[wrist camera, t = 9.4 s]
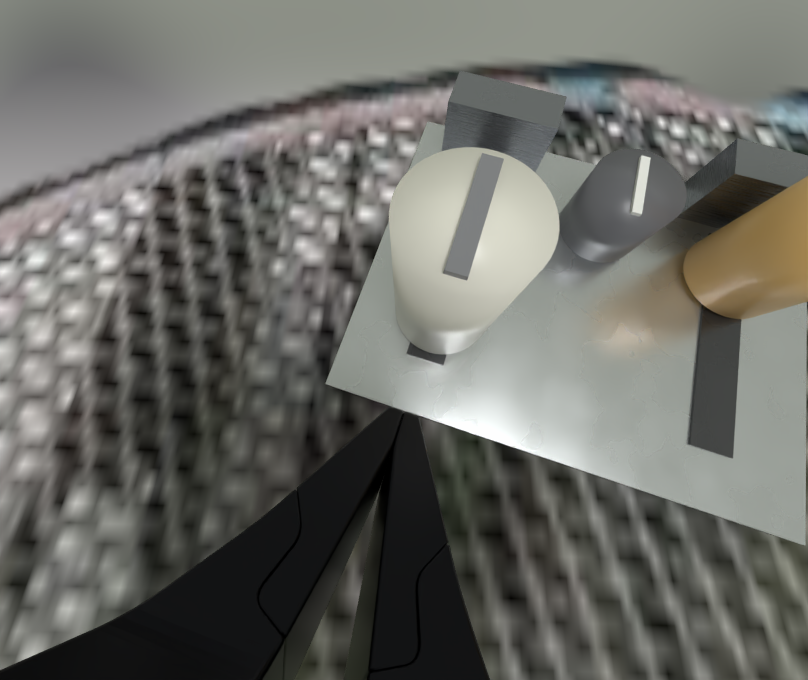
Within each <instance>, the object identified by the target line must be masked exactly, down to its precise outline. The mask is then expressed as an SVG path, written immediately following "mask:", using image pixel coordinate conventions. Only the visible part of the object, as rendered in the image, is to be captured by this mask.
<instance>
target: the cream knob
mask: <svg viewBox="0 0 808 680" xmlns="http://www.w3.org/2000/svg"><path fill="white" fill-rule="evenodd" d="M389 228H390V242H391V255H392V268H393V282H394V295H395V308H396V317H397V321H398V325H399V327H400V329H401V331H402V332H403V334H404V335H405V337H406V338H407V339H408V340H409V341H410V342H411V343H412V344H414V345H415V346H416V347H418V348H420V349H422V350H424V351H426V352H429V353H433V354H453V353H457V352H460V351H462V350H465V349H466V348H468V347H470V346H471V345H472V344H473V343H475V342H476V340H477V339H478V338H479V337H480V336H481V335H482V334H483V333H484V332H485V331H486V330H487V329H488V328H489V326H490V325H491V324H492V323H493V322H494V321H495V320H496V319H497V318H498V317H499V316H500V315H501V314H502V312H503V311H504V310H505V309H506V308H507V307H508V306H509V305H510V304H511V303H512V302H513V301H514V299H515V298H516V297H517V296H518V295H519V294H520V293H521V292H522V291H523V290H524V289H525V288H526V287H527V285H528V284H529V283H530V282H531V281H532V280H533V279H534V278H535V277H536V276H537V275H538V274H539V272H540V271H541V270H542V269H543V268H544V267H545V266H546V264H547V263H548V261H549V260H550V259H551V257H552V255H553V253H554V251H555V248H556V245H557V242H558V237H559V215H558V210H557V206H556V203H555V200H554V198H553V196H552V194H551V192H550V190H549V189H548V187H547V186H546V184H545V183H544V182H543V181H542V179H541V178H540V177H539V176H538V175H537V174H536V173H535V172H534V171H533V170H532V169H530V168H529V167H528V166H526V165H525V164H524V163H522V162H520V161H519V160H517V159H515V158H513V157H511V156H509V155H507V154H504V153H501V152H498V151H495V150H490V149H485V148H476V147H462V148H454V149H449V150H445V151H441V152H439V153H436V154H433V155H431V156H429V157H427V158H425V159H423V160H422V161H420V162H419V163H417V164H416V165H415V166H414V167H412V168H411V169H410V170H409V171H408V172H407V173H406V174H405V175H404V177H403V178H402V179H401V181H400V182H399V184H398V185H397V187H396V189H395V191H394V193H393V196H392V200H391V203H390V209H389Z"/></svg>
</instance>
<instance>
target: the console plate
mask: <svg viewBox="0 0 808 680" xmlns="http://www.w3.org/2000/svg"><path fill="white" fill-rule="evenodd" d="M565 101H566V96H562V95H558V94H553V93H549V92H545V91H541V90H537V89H533V88H529V87H525V86H521V85H517V84H513V83H508V82H504V81H500V80H496V79H492V78H488V77H484V76H480V75H476V74H472V73H468V72H463V71H460V72H459V75H458V77H457V80H456V83H455V85H454V88H453V91H452V93H451V96H450V99H449V102H448V109H447V116H446V123H445V126H444V125H440V124H436V123H432V122H427V125H426V127H425V130H424V132H423V135H422V137H421V140H420V143H419V145H418V148H417V150H416V153H415V155H414V158H413V160H412V163H411V166H410V168H409V170H410V169H411V168H412V167H414V166H415V165H416V164H417V163H419V162H420V161H422V160H423V159H425V158H427V157H429V156H431V155H433V154H436V153H439V152H441V151H445V150H449V149H454V148H462V147H476V148H485V149H490V150H495V151H498V152H501V153H504V154H507V155H509V156H511V157H513V158H515V159H517V160H519V161H520V162H522V163H524V164H525V165H526V166H528V167H529V168H530V169H532V170H533V171H534V172H535V173H536V174H537V175H538V176H539V177H540V178H541V179H542V181H543V182H544V183H545V184H546V186H547V187H548V189H549V190H550V192H551V194H552V196H553V198H554V200H555V203H556V206H557V210H558V215H559V217H560V214H561V212H562V210H563V209H564V207H565V206H566V205H567V203H568V202H569V201H570V199H571V198H572V197H573V195H574V194H575V193H576V191H577V190H578V189H579V188H580V186H581V185H582V184H583V182H584V181H585V180H586V178H587V177H588V176H589V174H590V173H591V172H592V170H593V169H594V168H595V166H596V165H594V164H590V163H586V162H582V161H578V160H575V159H571V158H567V157H563V156H559V155H555V154H551V153H548V152H546V151H547V149H548V147H549V145H550V143H551V142H552V140H553V138H554V136H555V134H556V132H557V130H558V128H559V124H560V120H561V116H562V112H563V108H564V105H565ZM807 176H808V156H807V155H803V154H799V153H795V152H791V151H787V150H783V149H779V148H775V147H770V146H766V145H762V144H758V143H754V142H750V141H746V140H742V139H736V140H735V141H734V142H733V143H732V144H730V145H729V146H728V147H727V148H726V149H724V150H723V151H722V152H721V153H720V154H719V155H717V156H716V157H715V158H714V159H713V160H711V161H710V162H709V163H708V164H707V165H705V166H704V167H703V168H702V169H701V170H700V171H698V172H697V173H696V174H695V175H694V176H692V177H691V178H690V179H689V180H688V181H686V182H685V187H686V193H687V198H686V204H685V206H684V209H683V210H682V212H681V213H680V214H679V216H678V217H677V218H675V219H674V220H673V221H671V222H670V223H669V224H667V225H666V226H665V227H663V228H662V229H661V230H659V231H658V232H657V233H655V234H654V235H653V236H651V237H650V238H648V239H647V240H646V241H644V242H643V243H642V244H640V245H639V246H638V247H636V248H635V249H634V250H632V251H631V252H629V253H628V254H627V255H625V256H624V257H622V258H621V259H618V260H616V261H612V262H606V263H601V262H594V261H590V260H587V259H584V258H582V257H580V256H579V255H577V254H576V253H574V252H573V251H572V250H571V249H570V248H569V247H568V246H567V245H566V244H565V242H564V240H563V239H562V237H561V234H560V231H559V237H558V242H557V245H556V248H555V251H554V253H553V255H552V257H551V259H550V260H549V261H548V263H547V264H546V266H545V267H544V268H543V269H542V270H541V271H540V272H539V274H538V275H537V276H536V277H535V278H534V279H533V280H532V281H531V282H530V283H529V284H528V285H527V287H526V288H525V289H524V290H523V291H522V292H521V293H520V294H519V295H518V296H517V297H516V298H515V299H514V301H513V302H512V303H511V304H510V305H509V306H508V307H507V308H506V309H505V310H504V311H503V312H502V314H501V315H500V316H499V317H498V318H497V319H496V320H495V321H494V322H493V323H492V324H491V325H490V326H489V328H488V329H487V330H486V331H485V332H484V333H483V334H482V335H481V336H480V337H479V338H478V339H477V340H476V342H475V343H473V344H472V345H471V346H470V347H468V348H466V349H465V350H462V351H460V352H457V353H453V354H433V353H429V352H426V351H424V350H422V349H420V348H418V347H416V346H415V345H414V344H412V343H411V342H410V341H409V340H408V339H407V338H406V337H405V335H404V334H403V332H402V331H401V329H400V327H399V325H398V321H397V317H396V308H395V295H394V282H393V268H392V255H391V242H390V228H389V222H388V225H387V227H386V230H385V232H384V235H383V237H382V240H381V243H380V245H379V248H378V250H377V253H376V255H375V258H374V260H373V263H372V266H371V268H370V271H369V273H368V276H367V278H366V281H365V284H364V286H363V289H362V291H361V294H360V296H359V299H358V301H357V304H356V307H355V309H354V312H353V314H352V317H351V319H350V322H349V325H348V327H347V330H346V332H345V335H344V337H343V340H342V343H341V345H340V348H339V350H338V353H337V355H336V358H335V360H334V363H333V366H332V368H331V371H330V373H329V376H328V378H327V381H326V384H327V385H329V386H331V387H334V388H337V389H340V390H343V391H346V392H349V393H352V394H355V395H358V396H361V397H364V398H367V399H370V400H373V401H376V402H379V403H382V404H385V405H388V406H391V407H393V408H396V409H400V410H402V411H405V412H409V413H412V414H415V415H417V416H420V417H423V418H426V419H429V420H432V421H435V422H438V423H441V424H444V425H447V426H450V427H453V428H456V429H459V430H462V431H465V432H468V433H471V434H474V435H477V436H480V437H483V438H485V439H488V440H491V441H494V442H497V443H500V444H503V445H506V446H509V447H512V448H515V449H518V450H521V451H524V452H527V453H530V454H533V455H536V456H539V457H542V458H545V459H548V460H551V461H554V462H557V463H560V464H563V465H566V466H569V467H572V468H575V469H578V470H580V471H583V472H586V473H589V474H592V475H595V476H598V477H601V478H604V479H607V480H610V481H613V482H616V483H619V484H622V485H625V486H628V487H631V488H634V489H637V490H640V491H643V492H646V493H649V494H652V495H655V496H658V497H661V498H664V499H667V500H670V501H673V502H675V503H678V504H681V505H684V506H687V507H690V508H693V509H696V510H699V511H702V512H705V513H708V514H711V515H714V516H717V517H720V518H723V519H726V520H729V521H732V522H735V523H738V524H741V525H744V526H747V527H750V528H753V529H756V530H759V531H762V532H765V533H767V534H770V535H774V536H777V537H780V538H783V539H786V540H789V541H793V542H796V543H799V544H802V545H805V519H806V331H807V302H804V303H801V304H797V305H794V306H791V307H787V308H784V309H780V310H777V311H773V312H770V313H766V314H763V315H760V316H756V317H753V318H748V319H734V318H729V317H725V316H722V315H719V314H717V313H715V312H713V311H711V310H710V309H708V308H707V307H705V306H704V305H703V304H702V303H701V302H699V301H698V300H697V298H696V297H695V296H694V295H693V294H692V292H691V291H690V289H689V287H688V285H687V283H686V280H685V277H684V271H683V264H684V259H685V256H686V254H687V252H688V250H689V249H690V248H691V247H692V246H693V245H694V244H695V243H697V242H699V241H700V240H702V239H704V238H705V237H707V236H709V235H710V234H712V233H714V232H715V231H717V230H719V229H720V228H722V227H724V226H725V225H727V224H729V223H730V222H732V221H734V220H735V219H737V218H739V217H740V216H742V215H744V214H745V213H747V212H749V211H750V210H752V209H754V208H755V207H757V206H759V205H760V204H762V203H763V202H765V201H767V200H768V199H770V198H772V197H773V196H775V195H777V194H778V193H780V192H782V191H783V190H785V189H787V188H788V187H790V186H792V185H793V184H795V183H797V182H798V181H800V180H802V179H803V178H805V177H807Z"/></svg>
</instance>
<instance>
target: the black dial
mask: <svg viewBox="0 0 808 680" xmlns="http://www.w3.org/2000/svg"><path fill="white" fill-rule="evenodd" d="M686 198H687V193H686V187H685V183H684V181H683V179H682V177H681V175H680V174H679V172H678V171H677V170H676V169H675V168H674V167H673V166H672V165H671V164H670V163H669V162H668V161H666V160H665V159H663V158H662V157H660V156H658V155H656V154H654V153H651V152H648V151H645V150H640V149H622V150H617V151H614V152H612V153H610V154H608V155H606V156H605V157H603V158H602V159H601V160H600V161H599V163H598V164H597V165H596V166H595V168H594V169H593V170H592V172H591V173H590V174H589V176H588V177H587V178H586V180H585V181H584V182H583V184H582V185H581V186H580V188H579V189H578V190H577V191H576V193H575V194H574V195H573V197H572V198H571V199H570V201H569V202H568V203H567V205H566V206H565V207H564V209H563V210H562V212H561V214H560V217H559V231H560V234H561V237H562V239H563V240H564V242H565V244H566V245H567V246H568V247H569V248H570V249H571V250H572V251H573V252H574V253H576V254H577V255H579V256H580V257H582V258H584V259H587V260H590V261H594V262H601V263H606V262H612V261H616V260H618V259H621V258H622V257H624V256H625V255H627V254H628V253H629V252H631V251H632V250H634V249H635V248H636V247H638V246H639V245H640V244H642V243H643V242H644V241H646V240H647V239H648V238H650V237H651V236H653V235H654V234H655V233H657V232H658V231H659V230H661V229H662V228H663V227H665V226H666V225H667V224H669V223H670V222H671V221H673V220H674V219H675V218H677V217H678V216H679V214H680V213H681V212H682V210H683V209H684V206H685V204H686Z"/></svg>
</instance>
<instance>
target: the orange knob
mask: <svg viewBox="0 0 808 680" xmlns="http://www.w3.org/2000/svg"><path fill="white" fill-rule="evenodd" d="M683 271H684V277H685V280H686V283H687V285H688V287H689V289H690V291H691V292H692V294H693V295H694V296H695V297H696V298H697V300H698V301H699V302H701V303H702V304H703V305H704V306H705V307H707V308H708V309H710V310H711V311H713V312H715V313H717V314H719V315H722V316H725V317H729V318H734V319H748V318H753V317H756V316H760V315H763V314H766V313H770V312H773V311H777V310H780V309H784V308H787V307H791V306H794V305H797V304H801V303H804V302H808V176H807V177H805V178H803V179H802V180H800V181H798V182H797V183H795V184H793V185H792V186H790V187H788V188H787V189H785V190H783V191H782V192H780V193H778V194H777V195H775V196H773V197H772V198H770V199H768V200H767V201H765V202H763V203H762V204H760V205H759V206H757V207H755V208H754V209H752V210H750V211H749V212H747V213H745V214H744V215H742V216H740V217H739V218H737V219H735V220H734V221H732V222H730V223H729V224H727V225H725V226H724V227H722V228H720V229H719V230H717V231H715V232H714V233H712V234H710V235H709V236H707V237H705V238H704V239H702V240H700V241H699V242H697V243H695V244H694V245H693V246H692V247H691V248H690V249H689V250H688V252H687V254H686V256H685V259H684V264H683Z"/></svg>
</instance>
